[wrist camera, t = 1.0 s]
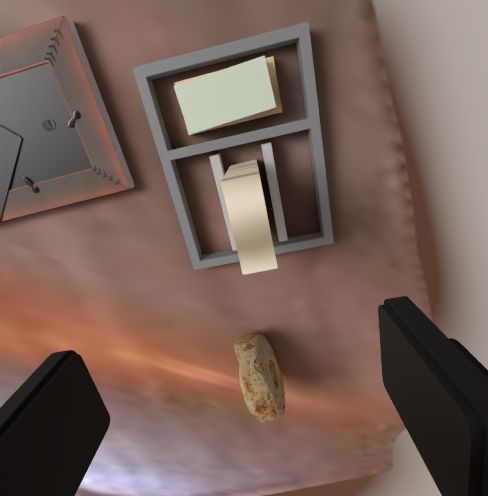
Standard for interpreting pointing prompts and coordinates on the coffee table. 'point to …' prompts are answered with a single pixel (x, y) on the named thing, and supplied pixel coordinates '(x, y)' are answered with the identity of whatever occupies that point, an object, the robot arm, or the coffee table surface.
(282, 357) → the coffee table surface
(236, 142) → the rack
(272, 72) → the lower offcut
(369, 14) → the coffee table surface
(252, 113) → the upper offcut
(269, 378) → the tan rounded piece
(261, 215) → the birch board
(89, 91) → the picture frame
